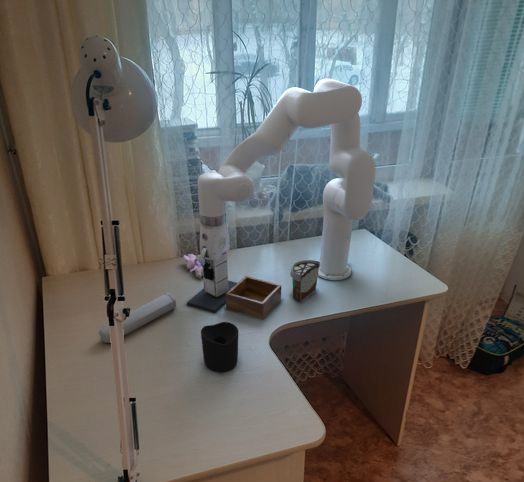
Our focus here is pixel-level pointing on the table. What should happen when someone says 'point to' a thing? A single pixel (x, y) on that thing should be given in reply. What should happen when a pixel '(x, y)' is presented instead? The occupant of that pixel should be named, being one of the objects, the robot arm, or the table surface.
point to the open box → (253, 297)
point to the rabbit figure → (194, 265)
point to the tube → (143, 315)
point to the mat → (209, 300)
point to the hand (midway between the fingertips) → (215, 273)
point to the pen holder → (220, 346)
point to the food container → (304, 278)
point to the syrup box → (218, 276)
